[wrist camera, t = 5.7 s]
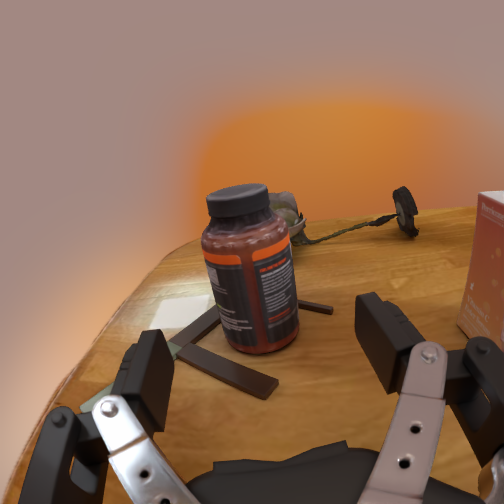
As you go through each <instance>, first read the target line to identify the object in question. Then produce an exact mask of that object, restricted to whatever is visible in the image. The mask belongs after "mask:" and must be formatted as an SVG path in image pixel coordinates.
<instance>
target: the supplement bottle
mask: <svg viewBox="0 0 504 504" xmlns="http://www.w3.org/2000/svg"><path fill="white" fill-rule="evenodd" d="M206 201H207V206H208V211H209V216H211V220H210V223H209V225H208V226H207V227H206V229H205V230H204V231H203V233H202V236H201V245H202V250H203V254H204V258H205V263H206V267H207V271H208V275H209V279H210V283H211V285H212V290H213V294H214V297H215V302H216V305H217V309H218V312H219V316H220V319H221V323H222V327H223V330H224V333H225V337H226V339H227V340H228V342H229V343H230V345H231V346H233V347H234V348H235V349H237V350H239V351H242V352H246V353H252V354H259V353H267V352H272V351H275V350H277V349H280V348H282V347H284V346H285V345H287V344H288V343H289V342H291V341H292V340H293V339H294V337H295V336H296V334H297V333H298V330H299V311H298V302H297V293H296V285H295V276H294V268H293V259H292V252H291V244H290V238H289V230H288V226H287V223H286V221H285V220H284V219H283V218H282V217H281V216H280V215H278V214H276V213H274V212H273V211H272V210H271V208H270V207H269V205H270V200H269V195H268V189H267V186H266V185H264V184H244V185H237V186H232V187H228V188H224V189H221V190H218V191H215V192H213V193H211V194H209V195H208V196H207V197H206Z"/></svg>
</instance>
